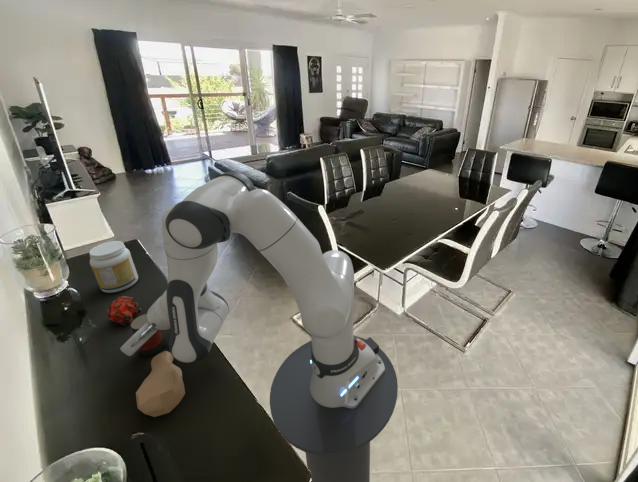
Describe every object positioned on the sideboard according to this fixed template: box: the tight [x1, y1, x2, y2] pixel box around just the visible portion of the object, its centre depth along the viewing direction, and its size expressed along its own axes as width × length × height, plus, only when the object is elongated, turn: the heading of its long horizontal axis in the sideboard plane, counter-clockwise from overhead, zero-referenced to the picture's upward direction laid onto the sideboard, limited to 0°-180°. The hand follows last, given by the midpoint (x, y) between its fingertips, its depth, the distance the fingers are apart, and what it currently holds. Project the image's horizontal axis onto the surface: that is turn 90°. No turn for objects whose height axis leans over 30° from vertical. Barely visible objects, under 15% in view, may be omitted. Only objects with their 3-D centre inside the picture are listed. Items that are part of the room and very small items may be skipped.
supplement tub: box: [89, 240, 139, 294], centre depth 124 cm, size 12×12×17 cm
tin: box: [130, 313, 165, 357], centre depth 97 cm, size 6×6×11 cm
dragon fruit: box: [106, 295, 142, 326], centre depth 109 cm, size 8×8×12 cm
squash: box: [135, 350, 186, 418], centre depth 86 cm, size 11×20×9 cm, turn 35°
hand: (145, 333), depth 97 cm, fingers closed on tin, 6 cm apart
